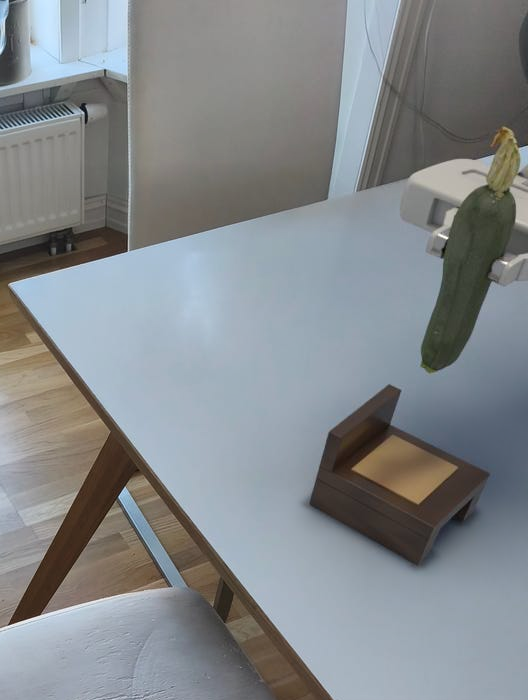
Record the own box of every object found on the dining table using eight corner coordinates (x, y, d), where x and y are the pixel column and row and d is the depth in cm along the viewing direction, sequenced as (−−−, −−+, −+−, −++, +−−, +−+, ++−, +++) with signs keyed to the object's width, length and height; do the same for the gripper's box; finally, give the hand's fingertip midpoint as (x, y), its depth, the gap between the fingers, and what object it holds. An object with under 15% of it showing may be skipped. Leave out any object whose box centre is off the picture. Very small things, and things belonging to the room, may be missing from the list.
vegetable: (461, 389, 76) (559, 144, 61) (412, 392, 76) (498, 148, 61) (443, 359, 79) (532, 118, 63) (395, 363, 79) (473, 122, 63)
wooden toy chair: (472, 513, 85) (507, 438, 78) (417, 567, 81) (448, 493, 74) (365, 457, 91) (389, 383, 84) (308, 505, 87) (328, 431, 80)
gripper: (469, 126, 77) (368, 174, 71) (704, 207, 66) (607, 271, 61) (446, 199, 82) (350, 250, 76) (661, 286, 71) (568, 351, 66)
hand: (466, 260), depth 69 cm, fingers closed on vegetable, 4 cm apart
